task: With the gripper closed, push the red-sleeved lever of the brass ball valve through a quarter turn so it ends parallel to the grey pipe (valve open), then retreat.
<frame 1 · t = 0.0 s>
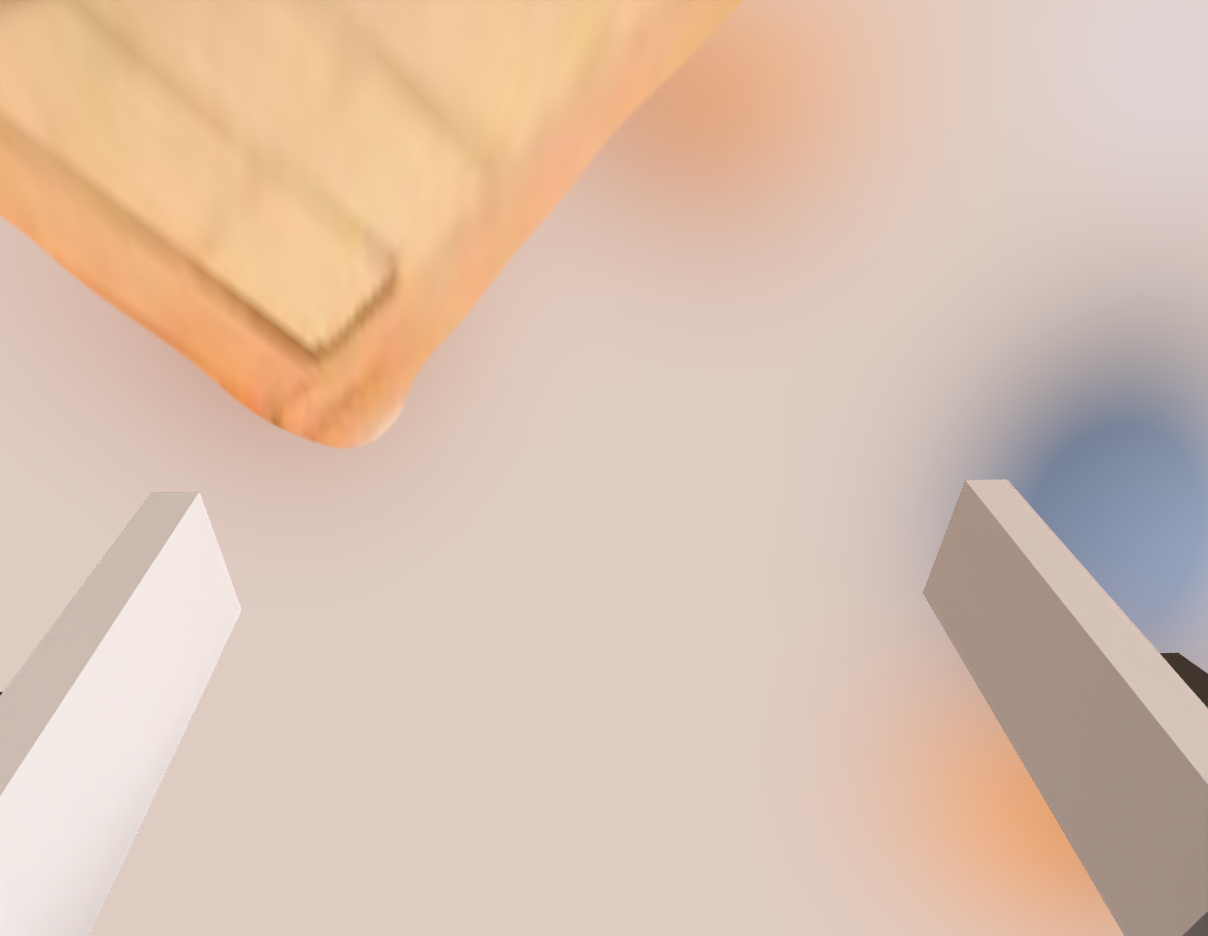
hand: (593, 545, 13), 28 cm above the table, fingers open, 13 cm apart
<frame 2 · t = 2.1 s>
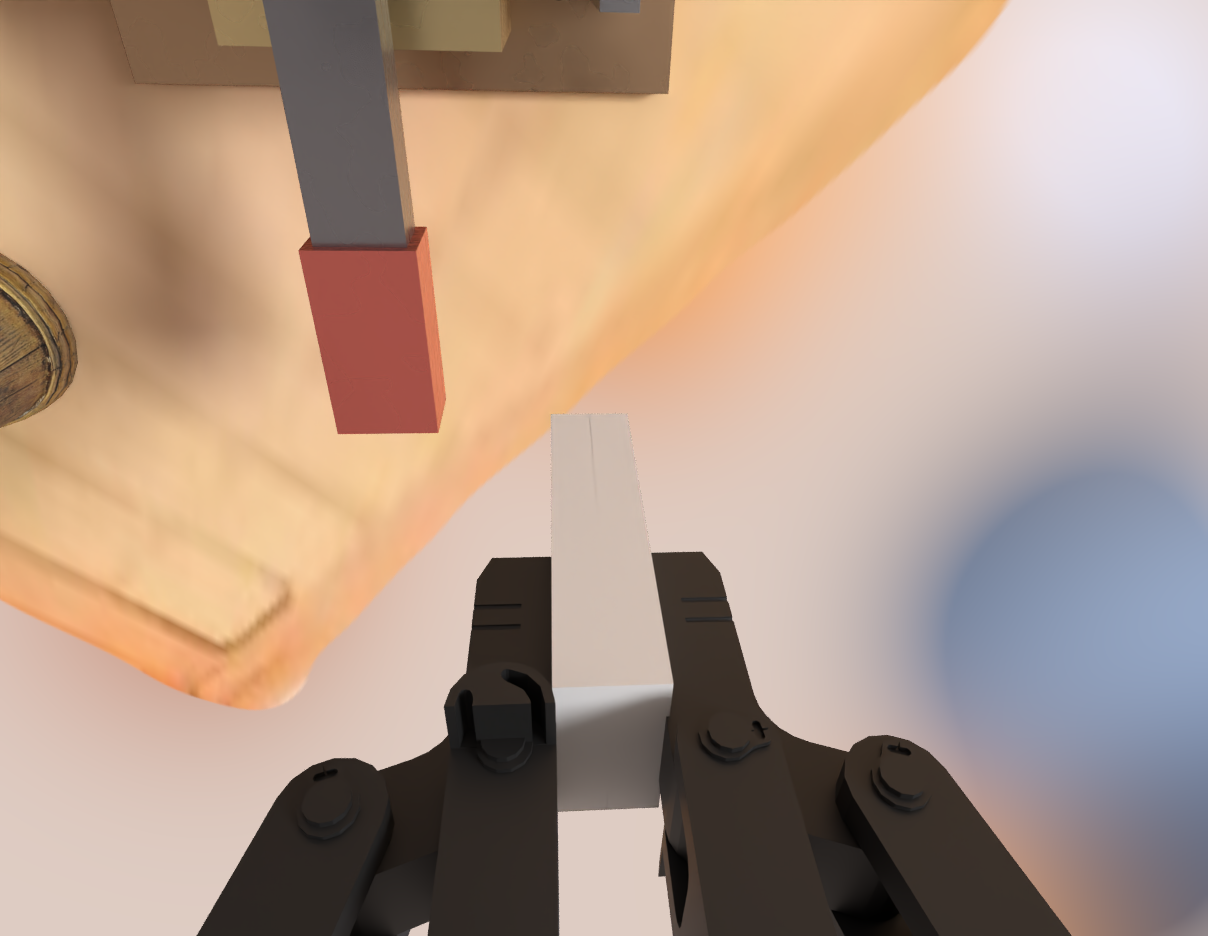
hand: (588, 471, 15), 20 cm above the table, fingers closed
lever: (352, 155, 20), point 11 cm above the table, hinge at 0.0°
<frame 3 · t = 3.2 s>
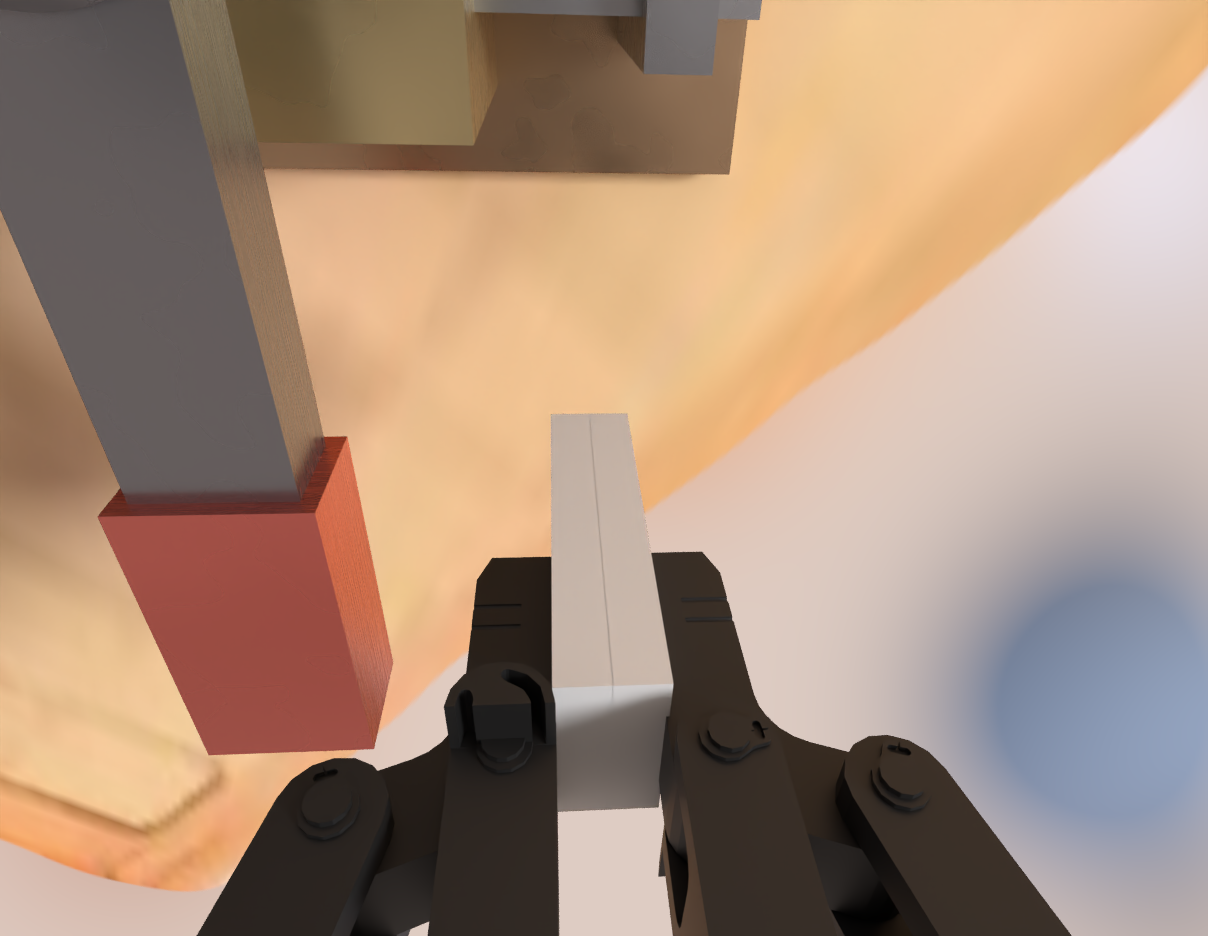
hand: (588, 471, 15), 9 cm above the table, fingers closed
lever: (192, 348, 11), point 11 cm above the table, hinge at 0.0°
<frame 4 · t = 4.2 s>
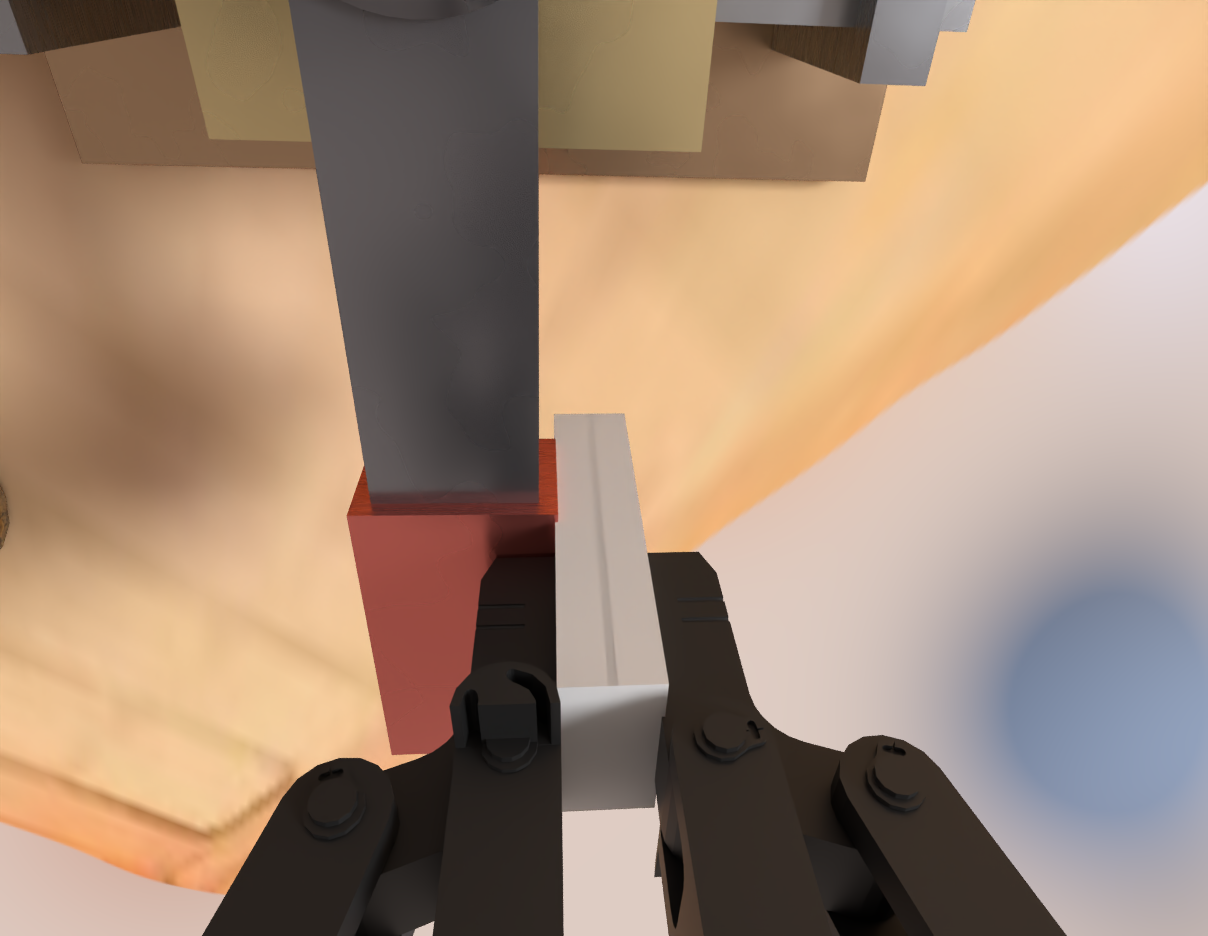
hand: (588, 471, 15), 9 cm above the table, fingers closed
lever: (450, 349, 11), point 11 cm above the table, hinge at 0.6°, touching gripper
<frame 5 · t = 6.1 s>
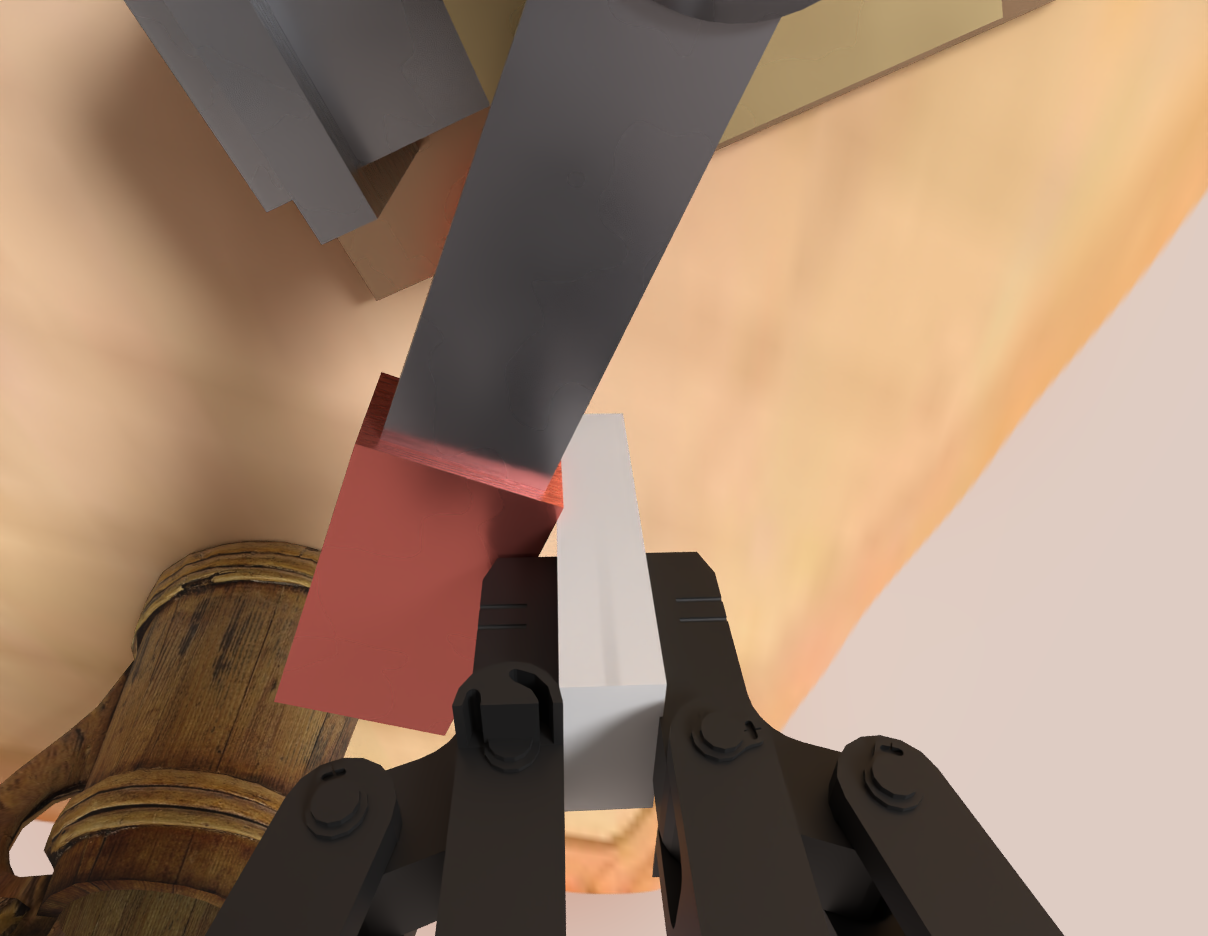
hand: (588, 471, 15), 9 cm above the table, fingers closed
lever: (519, 315, 11), point 11 cm above the table, hinge at 46.8°, touching gripper
wooden mug: (217, 618, 29), on the table
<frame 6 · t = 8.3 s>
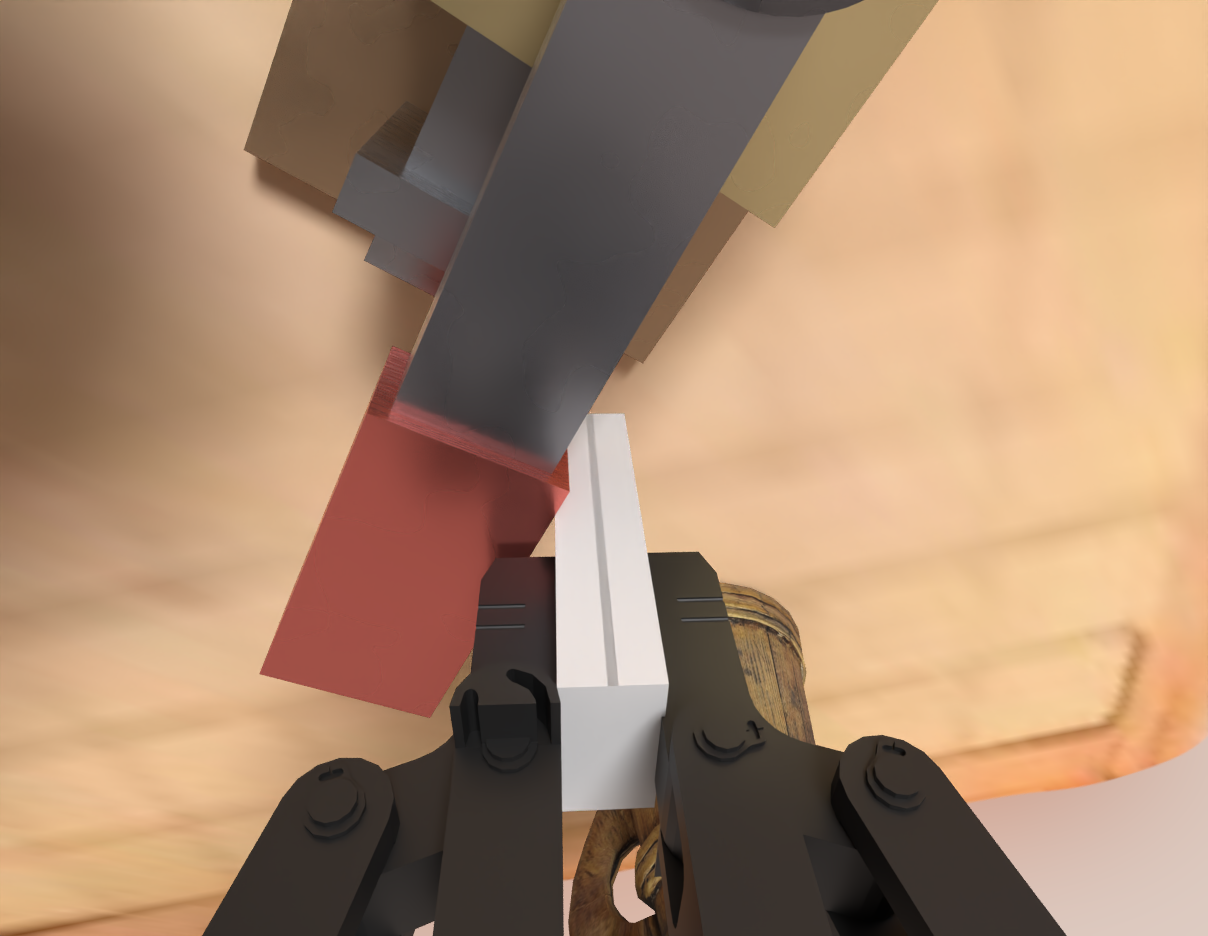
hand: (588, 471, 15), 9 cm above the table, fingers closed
lever: (538, 296, 11), point 11 cm above the table, hinge at 86.8°, touching gripper
wooden mug: (648, 671, 33), on the table
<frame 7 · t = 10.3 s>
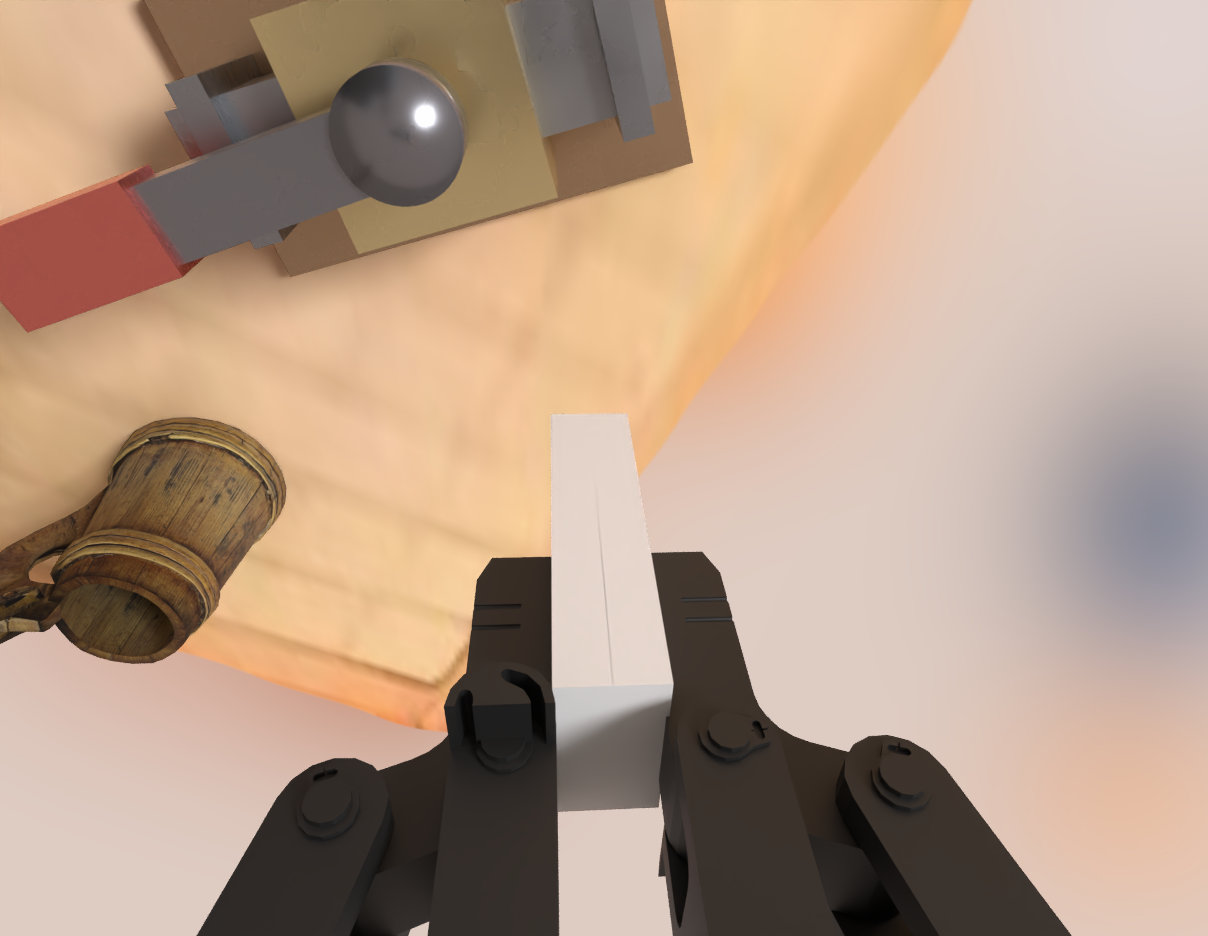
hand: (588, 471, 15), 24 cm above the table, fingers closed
valve body: (441, 80, 32), on the table
lever: (226, 198, 24), point 11 cm above the table, hinge at 86.8°
wooden mug: (166, 470, 43), on the table
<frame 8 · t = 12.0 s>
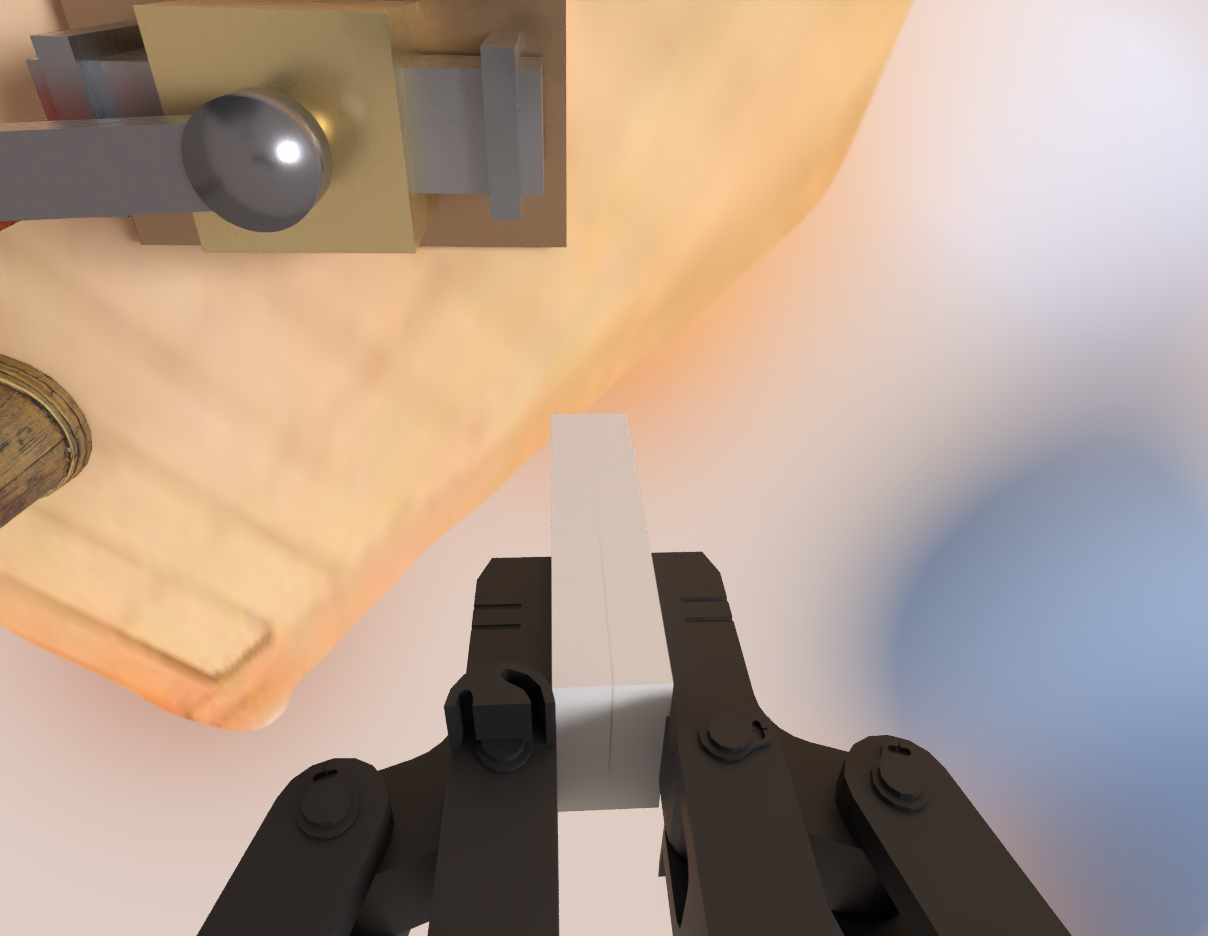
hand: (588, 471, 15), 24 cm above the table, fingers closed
valve body: (340, 104, 33), on the table
lever: (62, 169, 23), point 11 cm above the table, hinge at 86.8°
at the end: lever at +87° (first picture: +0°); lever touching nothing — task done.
